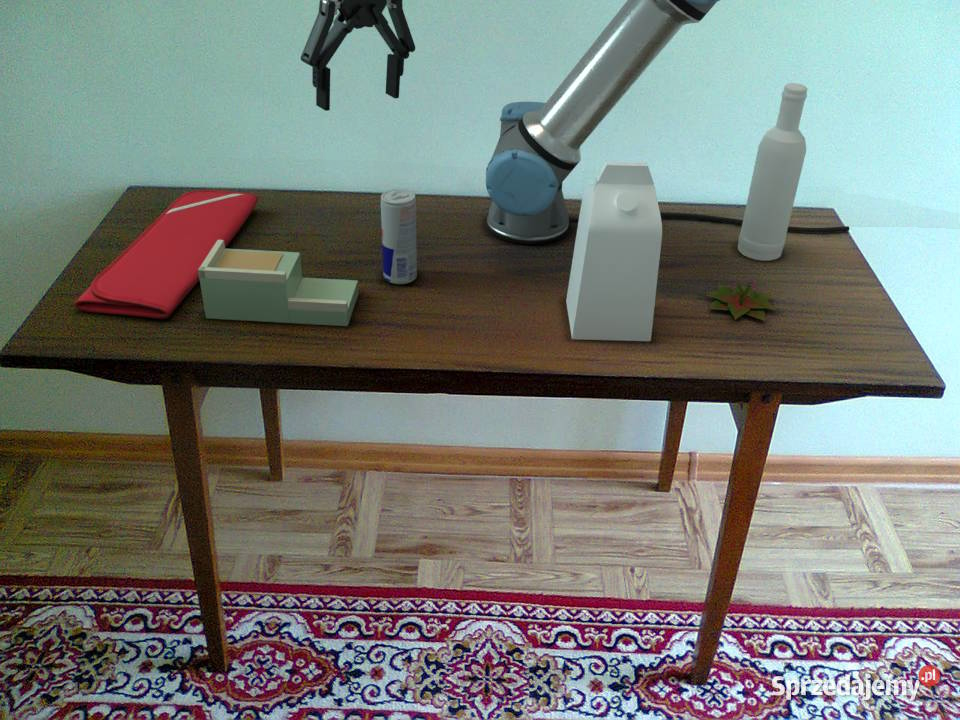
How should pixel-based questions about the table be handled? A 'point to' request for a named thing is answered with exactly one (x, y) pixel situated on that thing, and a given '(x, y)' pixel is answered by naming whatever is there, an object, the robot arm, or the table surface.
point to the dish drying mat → (168, 255)
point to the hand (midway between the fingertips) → (358, 101)
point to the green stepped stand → (271, 289)
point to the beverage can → (399, 236)
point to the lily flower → (741, 300)
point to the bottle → (775, 181)
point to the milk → (616, 256)
